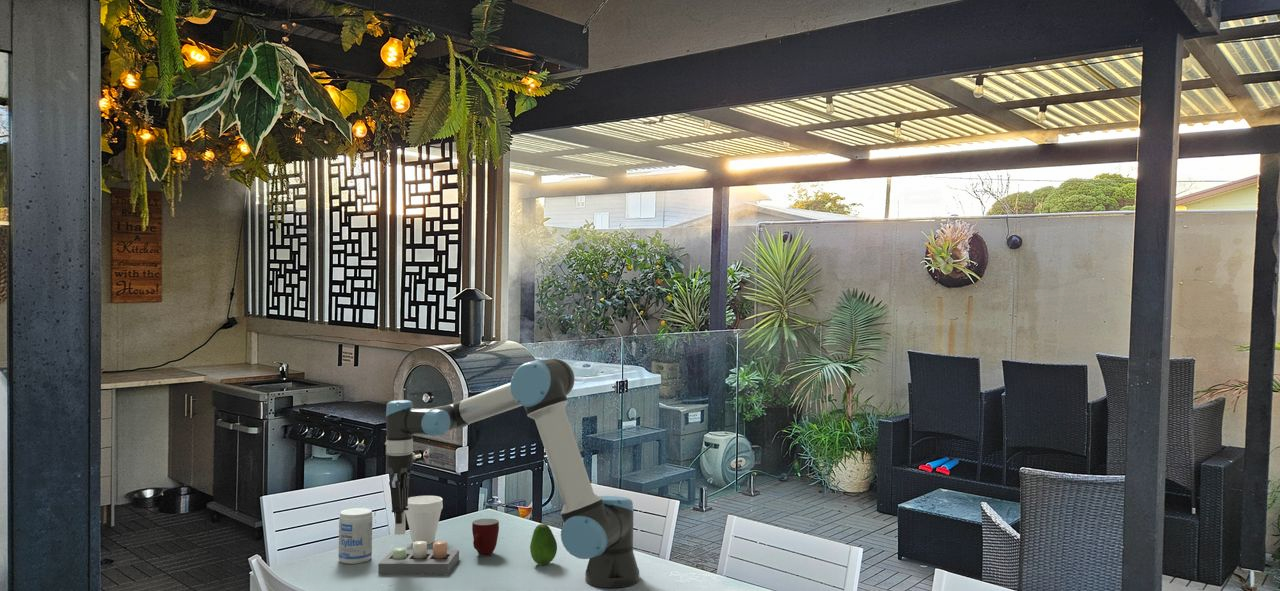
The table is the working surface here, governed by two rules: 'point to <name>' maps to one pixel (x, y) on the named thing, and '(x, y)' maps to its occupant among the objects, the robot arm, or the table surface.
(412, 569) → the button panel
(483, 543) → the mug
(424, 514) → the cup
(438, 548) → the button terracotta
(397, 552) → the button sage
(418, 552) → the button cream
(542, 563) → the fruit
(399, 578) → the table surface
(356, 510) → the supplement tub
